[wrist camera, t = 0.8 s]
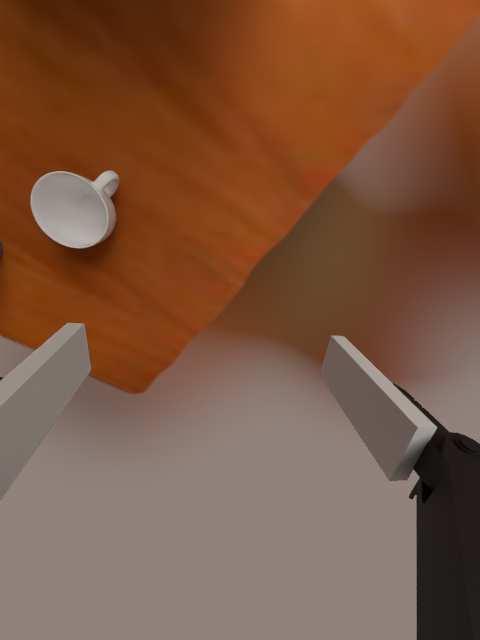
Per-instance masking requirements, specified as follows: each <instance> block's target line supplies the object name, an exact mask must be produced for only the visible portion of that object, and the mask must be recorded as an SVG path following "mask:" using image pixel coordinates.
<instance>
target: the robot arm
mask: <svg viewBox="0 0 480 640" xmlns="http://www.w3.org/2000/svg"><path fill="white" fill-rule="evenodd" d="M90 371H91V365H90V358H89V351H88V345H87V338H86V331H85V324H81V323H67V324H66V325H64V326H63V327H62V328H61V329H60V330H59V331H57V332H56V333H55V334H54V335H53V336H52V337H50V338H49V339H48V340H47V341H46V342H45V343H43V344H42V345H41V346H40V347H39V348H38V349H37V350H35V351H34V352H33V353H32V354H31V355H30V356H28V358H26V359H25V360H24V361H23V362H21V363H20V364H19V365H18V366H17V367H16V368H15V369H13V370H12V371H11V372H10V373H9V374H7V375H6V376H5V377H2V378H1V377H0V500H1V499H2V498H3V496H4V495H5V494H6V492H7V490H8V489H9V488H10V486H11V485H12V484H13V482H14V481H15V479H16V478H17V476H18V475H19V473H20V472H21V471H22V469H23V468H24V466H25V465H26V463H27V462H28V460H29V459H30V458H31V456H32V455H33V453H34V452H35V450H36V449H37V447H38V446H39V445H40V443H41V442H42V440H43V439H44V437H45V436H46V434H47V433H48V432H49V430H50V429H51V427H52V426H53V424H54V423H55V421H56V420H57V419H58V417H59V416H60V414H61V413H62V411H63V410H64V408H65V407H66V405H67V404H68V403H69V401H70V400H71V398H72V397H73V395H74V394H75V393H76V391H77V390H78V388H79V387H80V385H81V384H82V382H83V381H84V379H85V378H86V377H87V375H88V374H89V372H90ZM320 376H321V378H322V379H323V381H324V382H325V384H326V385H327V387H328V388H329V390H330V391H331V393H332V394H333V396H334V397H335V399H336V400H337V402H338V404H339V405H340V407H341V408H342V410H343V411H344V413H345V414H346V416H347V417H348V419H349V420H350V422H351V423H352V425H353V426H354V427H355V429H356V431H357V432H358V434H359V435H360V437H361V438H362V440H363V442H364V443H365V444H366V446H367V447H368V449H369V451H370V452H371V454H372V455H373V457H374V458H375V459H376V461H377V463H378V464H379V466H380V467H381V469H382V470H383V472H384V473H385V475H386V476H387V478H388V480H389V481H397V480H407V479H408V478H409V476H410V474H411V472H412V471H413V469H414V470H415V471H416V473H417V474H418V475H419V477H420V478H419V480H418V482H417V483H416V485H415V487H414V488H413V490H412V491H411V493H410V496H409V498H410V499H413V497H414V496H415V495H417V640H480V444H479V443H477V442H476V441H475V440H473V439H471V438H469V437H467V436H465V435H462V434H459V433H452V432H449V431H448V430H446V428H444V426H442V425H441V424H440V423H439V422H438V421H437V420H436V419H435V418H434V417H433V416H432V415H431V414H430V413H429V412H428V411H426V410H425V409H424V408H422V406H421V405H420V404H419V403H418V402H417V401H415V400H414V398H413V397H412V396H411V395H410V394H409V393H407V392H406V391H405V390H404V389H402V388H400V387H399V386H397V385H396V384H392V383H391V382H390V381H389V380H388V379H387V378H386V377H385V376H384V375H383V374H382V373H381V372H380V371H379V370H378V369H377V368H376V367H375V366H373V364H371V362H369V360H367V359H366V358H365V357H364V356H363V355H362V354H361V353H360V352H359V351H358V350H357V349H356V348H355V347H354V346H353V345H352V344H351V343H350V342H349V341H348V340H347V339H346V338H345V337H344V336H331V338H330V342H329V345H328V349H327V352H326V356H325V359H324V362H323V366H322V369H321V373H320Z"/></svg>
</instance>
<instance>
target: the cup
mask: <svg viewBox="0 0 480 640" xmlns="http://www.w3.org/2000/svg"><path fill="white" fill-rule="evenodd" d="M119 182H120V178H119V176H118V175H117V174H116V173H115V172H114V171H111V170H110V171H105V172H103V173H102V174H101V175H100V176H99V177H98V178H97V179H96V180H95V181H92V180H90V179H88V178H86V177H83V176H81V175H78V174H74V173H70V172H64V171H56V172H51V173H48V174H45V175H44V176H42V177H41V178H40V179H39V180H38V181H37V182H36V183H35V185H34V187H33V189H32V192H31V198H30V203H31V209H32V213H33V216H34V218H35V220H36V222H37V224H38V225H39V227H40V228H41V229H42V230H43V231H44V233H45V234H46V235H48V236H49V237H50V238H51V239H53V240H54V241H56V242H57V243H59V244H61V245H64V246H67V247H71V248H87V247H91V246H94V245H96V244H98V243H100V242H102V241H104V240H105V239H106V238H107V237H108V236H109V235H110V234H111V233H112V231H113V229H114V227H115V224H116V210H115V207H114V204H113V202H112V200H111V197H112V195H113V194H114V193H115V191H116V189H117V187H118V185H119Z"/></svg>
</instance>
